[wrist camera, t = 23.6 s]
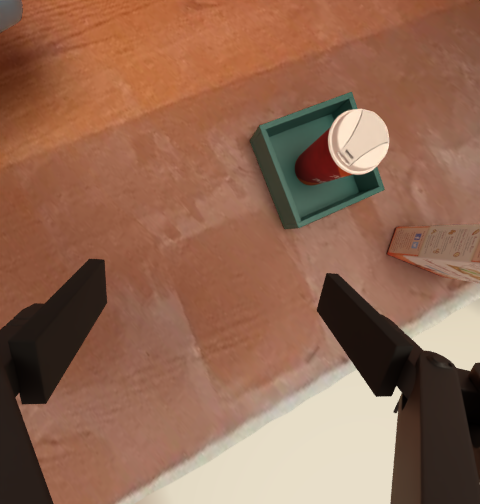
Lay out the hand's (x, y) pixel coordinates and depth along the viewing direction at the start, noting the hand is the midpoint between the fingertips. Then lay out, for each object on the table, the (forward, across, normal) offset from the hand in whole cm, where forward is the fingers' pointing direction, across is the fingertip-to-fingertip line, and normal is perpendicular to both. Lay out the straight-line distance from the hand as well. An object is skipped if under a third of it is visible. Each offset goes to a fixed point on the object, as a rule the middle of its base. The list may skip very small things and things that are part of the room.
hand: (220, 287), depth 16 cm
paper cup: (+31, +16, +6) cm, 35 cm away
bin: (+32, +16, +6) cm, 36 cm away
